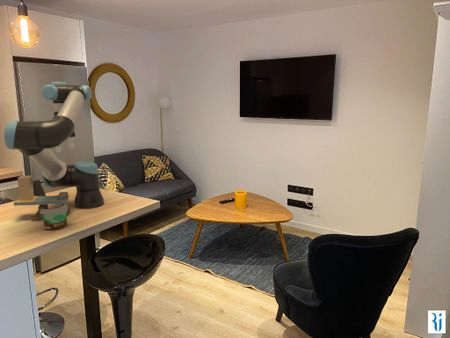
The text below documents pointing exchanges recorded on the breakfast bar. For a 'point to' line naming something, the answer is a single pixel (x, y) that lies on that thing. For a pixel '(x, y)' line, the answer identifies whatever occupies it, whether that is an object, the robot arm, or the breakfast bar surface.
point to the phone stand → (38, 188)
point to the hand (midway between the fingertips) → (65, 150)
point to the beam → (45, 200)
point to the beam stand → (39, 216)
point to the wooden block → (25, 188)
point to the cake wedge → (55, 217)
